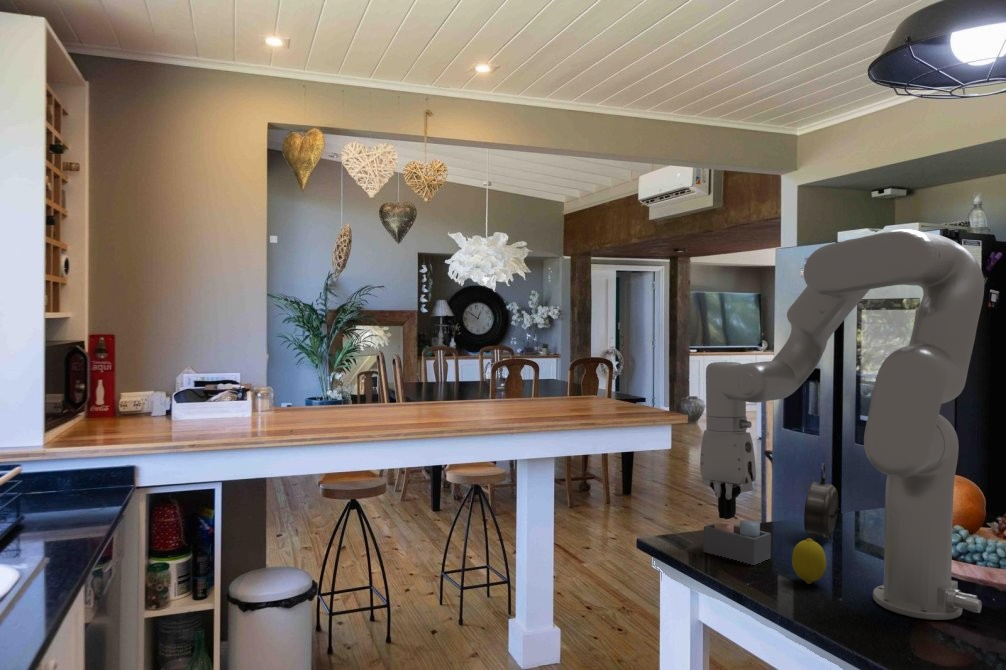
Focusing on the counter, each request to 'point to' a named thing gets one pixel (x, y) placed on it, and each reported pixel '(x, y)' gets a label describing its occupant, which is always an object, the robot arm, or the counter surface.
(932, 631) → the counter surface
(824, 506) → the alarm clock
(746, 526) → the pale blue cube
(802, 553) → the lemon
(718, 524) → the peach rounded cube
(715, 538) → the grey storage bin
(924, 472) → the robot arm
